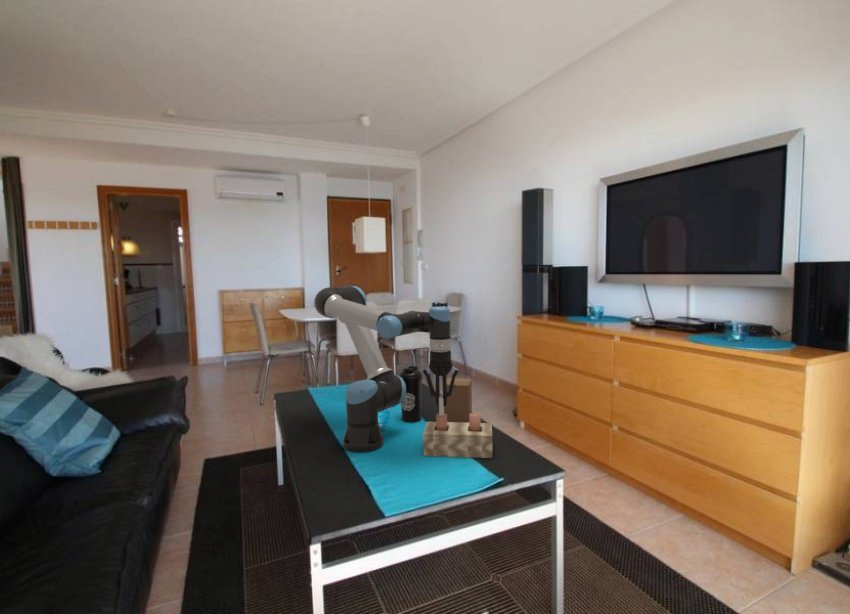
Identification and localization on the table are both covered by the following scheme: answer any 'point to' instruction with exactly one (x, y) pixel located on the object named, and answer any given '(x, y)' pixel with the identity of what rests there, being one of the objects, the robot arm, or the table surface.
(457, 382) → the wooden block
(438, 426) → the peg
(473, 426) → the peg
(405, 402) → the water bottle
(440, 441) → the socket board
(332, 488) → the table surface
